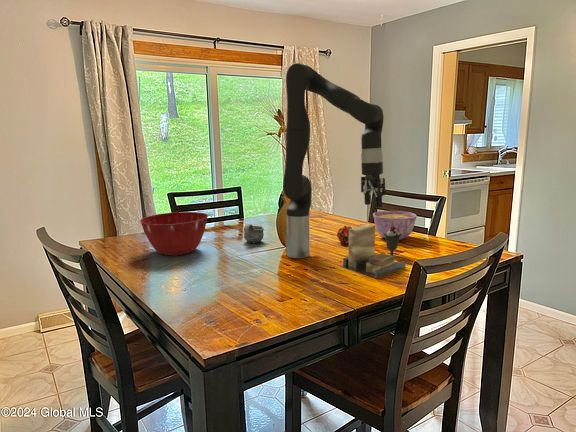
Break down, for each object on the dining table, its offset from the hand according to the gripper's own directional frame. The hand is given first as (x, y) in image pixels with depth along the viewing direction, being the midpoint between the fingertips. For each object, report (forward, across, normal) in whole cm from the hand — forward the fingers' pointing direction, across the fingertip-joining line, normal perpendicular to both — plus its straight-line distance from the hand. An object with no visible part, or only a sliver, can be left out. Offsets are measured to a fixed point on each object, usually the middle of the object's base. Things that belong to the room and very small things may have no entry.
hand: (373, 205), depth 153 cm
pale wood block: (+22, -1, -5) cm, 22 cm away
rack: (+23, +4, -3) cm, 24 cm away
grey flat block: (+22, +8, -2) cm, 23 cm away
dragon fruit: (+22, -36, +4) cm, 42 cm away
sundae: (+24, -7, +11) cm, 27 cm away
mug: (+20, -51, -36) cm, 66 cm away
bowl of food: (+23, -36, +29) cm, 52 cm away
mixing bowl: (+19, -49, -70) cm, 88 cm away
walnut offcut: (+19, +9, -2) cm, 21 cm away
